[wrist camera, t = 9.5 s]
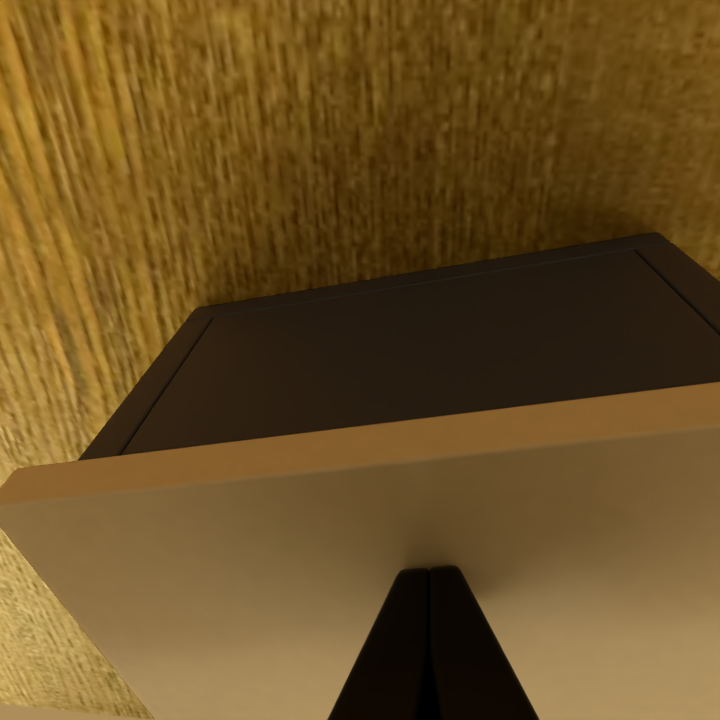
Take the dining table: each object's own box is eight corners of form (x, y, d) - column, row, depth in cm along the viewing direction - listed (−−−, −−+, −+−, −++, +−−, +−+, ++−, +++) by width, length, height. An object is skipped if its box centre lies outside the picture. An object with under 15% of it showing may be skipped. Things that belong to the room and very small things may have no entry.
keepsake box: (194, 307, 15) (74, 462, 10) (658, 230, 13) (830, 369, 8) (322, 648, 22) (293, 850, 17) (640, 630, 20) (725, 850, 15)
